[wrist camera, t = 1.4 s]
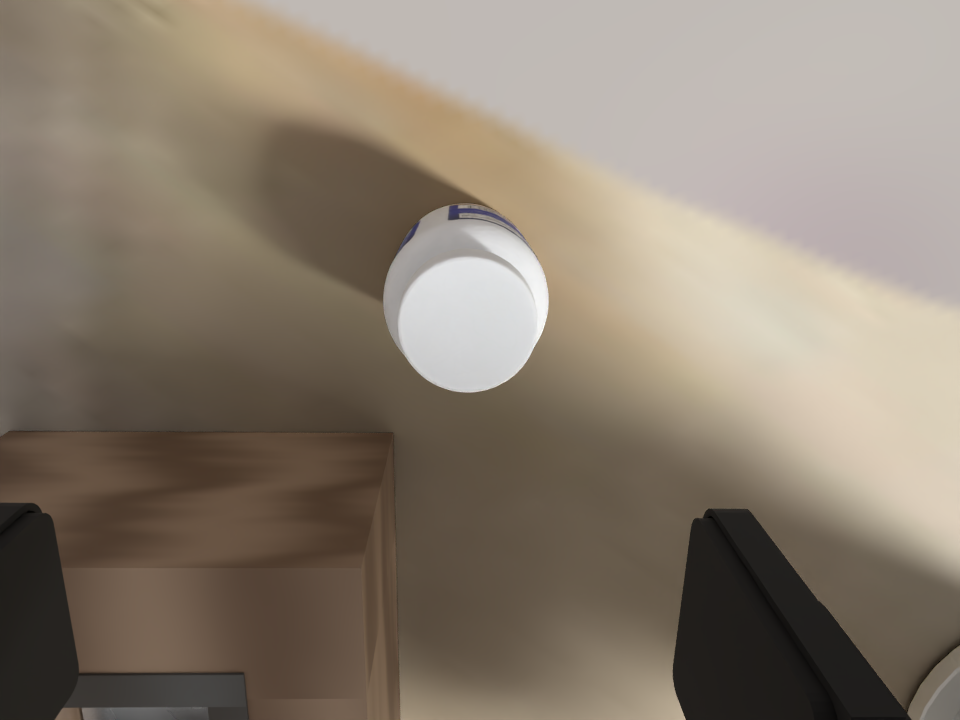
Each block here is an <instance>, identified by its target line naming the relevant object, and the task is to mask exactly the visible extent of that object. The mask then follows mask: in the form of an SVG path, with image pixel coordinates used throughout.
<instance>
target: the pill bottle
mask: <svg viewBox="0 0 960 720" xmlns="http://www.w3.org/2000/svg"><path fill="white" fill-rule="evenodd" d="M548 304H549V301H548V288H547V283H546V279H545V274H544V272H543V270H542V267H541V264H540V262H539V260H538V259H537V257H536V255H535V254H534V252H533V251H532V249H531V247H530V246H529V244H528V243H527V241H526V240H525V238H524V237H523V235H522V234H521V232H520V231H519V230H518V229H517V227H516V226H515V225H514V224H513V223H512V222H511V221H510V220H508V219H507V218H506V217H505V216H503V215H502V214H500V213H498V212H497V211H495V210H493V209H490V208H488V207H485V206H482V205H477V204H470V203H462V204H453V205H448V206H444V207H441V208H438V209H436V210H434V211H432V212H430V213H428V214H427V215H425V216H424V217H423V218H421V219H420V220H419V221H418V222H417V223H416V224H415V225H414V226H413V227H412V228H411V230H410V231H409V232H408V234H407V235H406V237H405V238H404V240H403V242H402V244H401V246H400V248H399V250H398V252H397V254H396V256H395V258H394V260H393V262H392V264H391V266H390V268H389V271H388V274H387V277H386V281H385V286H384V294H383V308H384V315H385V320H386V323H387V327H388V330H389V332H390V334H391V337H392V338H393V340H394V342H395V344H396V345H397V347H398V348H399V350H400V351H401V352H402V353H403V354H404V356H405V357H406V358H407V360H408V362H409V363H410V364H411V366H412V367H413V368H414V369H415V370H416V371H417V372H418V373H419V374H420V375H421V376H422V377H424V378H425V379H426V380H428V381H429V382H431V383H433V384H435V385H437V386H439V387H441V388H444V389H447V390H451V391H456V392H479V391H484V390H488V389H491V388H494V387H496V386H498V385H500V384H502V383H504V382H506V381H507V380H509V379H510V378H511V377H513V376H514V375H515V374H516V373H517V372H518V371H519V370H520V369H521V368H522V367H523V366H524V364H525V363H526V361H527V360H528V358H529V357H530V355H531V353H532V351H533V348H534V346H535V345H536V343H537V342H538V340H539V338H540V336H541V334H542V332H543V329H544V326H545V323H546V319H547V314H548Z"/></svg>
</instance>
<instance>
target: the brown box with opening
mask: <svg viewBox="0 0 960 720" xmlns="http://www.w3.org/2000/svg"><path fill="white" fill-rule="evenodd" d="M0 503H35V504H36V505H38V506H39V507H40V509H41V510H42V513H47V514H49V515H50V516H51V517H52V519H53V523H54V527H55V533H56V539H57V544H58V550H59V556H60V561H61V567H62V573H63V578H64V584H65V589H66V595H67V601H68V606H69V612H70V618H71V623H72V629H73V635H74V640H75V646H76V652H77V657H78V663H79V676H78V681H77V684H76V687H75V690H74V692H73V693H72V695H71V697H70V698H69V700H68V701H67V703H66V704H65V705H64V707H63V708H62V710H61V711H60V713H59V714H58V716H57V717H56V719H55V720H84V718H83V713H82V708H124V707H208V715H209V720H400V690H399V649H398V608H397V568H396V527H395V486H394V445H393V433H300V432H76V431H9V432H7V433H6V434H4V435H3V436H1V437H0Z"/></svg>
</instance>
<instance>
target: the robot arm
mask: <svg viewBox="0 0 960 720" xmlns="http://www.w3.org/2000/svg"><path fill="white" fill-rule="evenodd" d="M78 676H79V663H78V657H77V652H76V646H75V640H74V635H73V629H72V623H71V618H70V612H69V606H68V601H67V595H66V589H65V584H64V578H63V573H62V567H61V561H60V556H59V550H58V544H57V539H56V533H55V527H54V523H53V519H52V517H51V516H50V515H49V514H47V513H42V510H41V509H40V507H39V506H38V505H36V504H35V503H0V720H55V719H56V717H57V716H58V714H59V713H60V711H61V710H62V708H63V707H64V705H65V704H66V703H67V701H68V700H69V698H70V697H71V695H72V693H73V692H74V690H75V687H76V684H77V681H78ZM673 681H674V687H675V691H676V695H677V697H678V700H679V703H680V705H681V708H682V711H683V713H684V716H685V718H686V720H960V646H958V647H957V648H955V649H954V650H953V651H951V652H950V653H949V654H948V655H947V656H946V657H945V658H944V659H943V660H942V661H941V662H939V663H938V664H937V665H936V666H935V667H934V668H933V670H932V671H931V672H930V674H929V675H928V676H927V677H926V679H925V680H924V681H923V682H922V684H921V685H920V687H919V689H918V691H917V692H916V694H915V696H914V698H913V700H912V702H911V704H910V706H909V709H908V712H907V713H906V712H905V710H904V709H903V708H902V706H901V705H900V704H899V702H898V701H897V700H896V698H895V697H894V696H893V695H892V693H891V692H890V691H889V689H888V688H887V687H886V685H885V684H884V683H883V681H882V680H881V679H880V678H879V676H878V675H877V674H876V672H875V671H874V670H873V668H872V667H871V666H870V664H869V663H868V662H867V661H866V659H865V658H864V657H863V655H862V654H861V653H860V651H859V650H858V649H857V648H856V646H855V645H854V644H853V642H852V641H851V640H850V638H849V637H848V636H847V634H846V633H845V632H844V631H843V629H842V628H841V627H840V625H839V624H838V623H837V621H836V620H835V619H834V617H833V616H832V615H831V614H830V612H829V611H828V610H827V608H826V607H825V606H824V605H823V604H822V603H820V602H819V601H818V600H817V599H816V597H815V596H814V595H813V593H812V592H811V591H810V590H809V588H808V587H807V586H806V584H805V583H804V582H803V580H802V579H801V578H800V576H799V575H798V574H797V572H796V571H795V570H794V568H793V567H792V566H791V565H790V563H789V562H788V561H787V559H786V558H785V557H784V555H783V554H782V553H781V551H780V550H779V549H778V547H777V546H776V545H775V543H774V542H773V541H772V540H771V538H770V537H769V536H768V534H767V533H766V532H765V530H764V529H763V528H762V526H761V525H760V524H759V522H758V521H757V520H756V518H755V517H754V516H753V515H752V513H751V512H750V511H749V510H748V509H708V510H707V511H706V512H705V514H704V517H703V518H695V519H694V520H693V523H692V526H691V532H690V540H689V547H688V555H687V563H686V571H685V578H684V586H683V594H682V601H681V609H680V617H679V624H678V632H677V640H676V647H675V655H674V663H673Z"/></svg>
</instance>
